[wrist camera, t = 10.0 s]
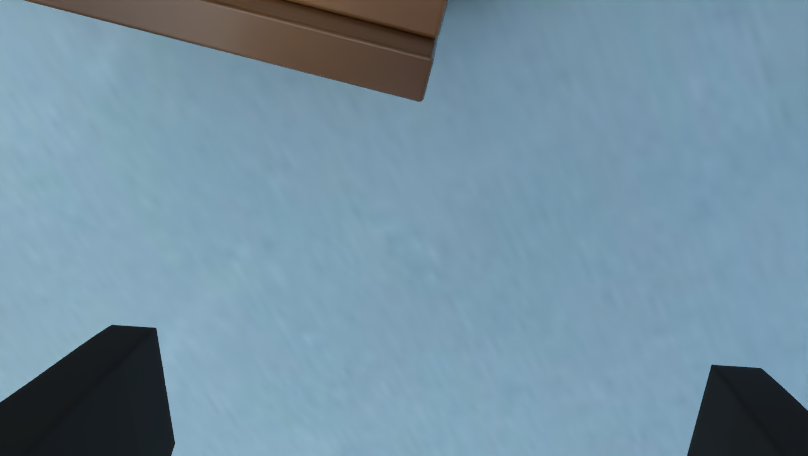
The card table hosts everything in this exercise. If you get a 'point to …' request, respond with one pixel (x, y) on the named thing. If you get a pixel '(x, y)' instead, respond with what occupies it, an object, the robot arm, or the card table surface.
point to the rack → (297, 34)
